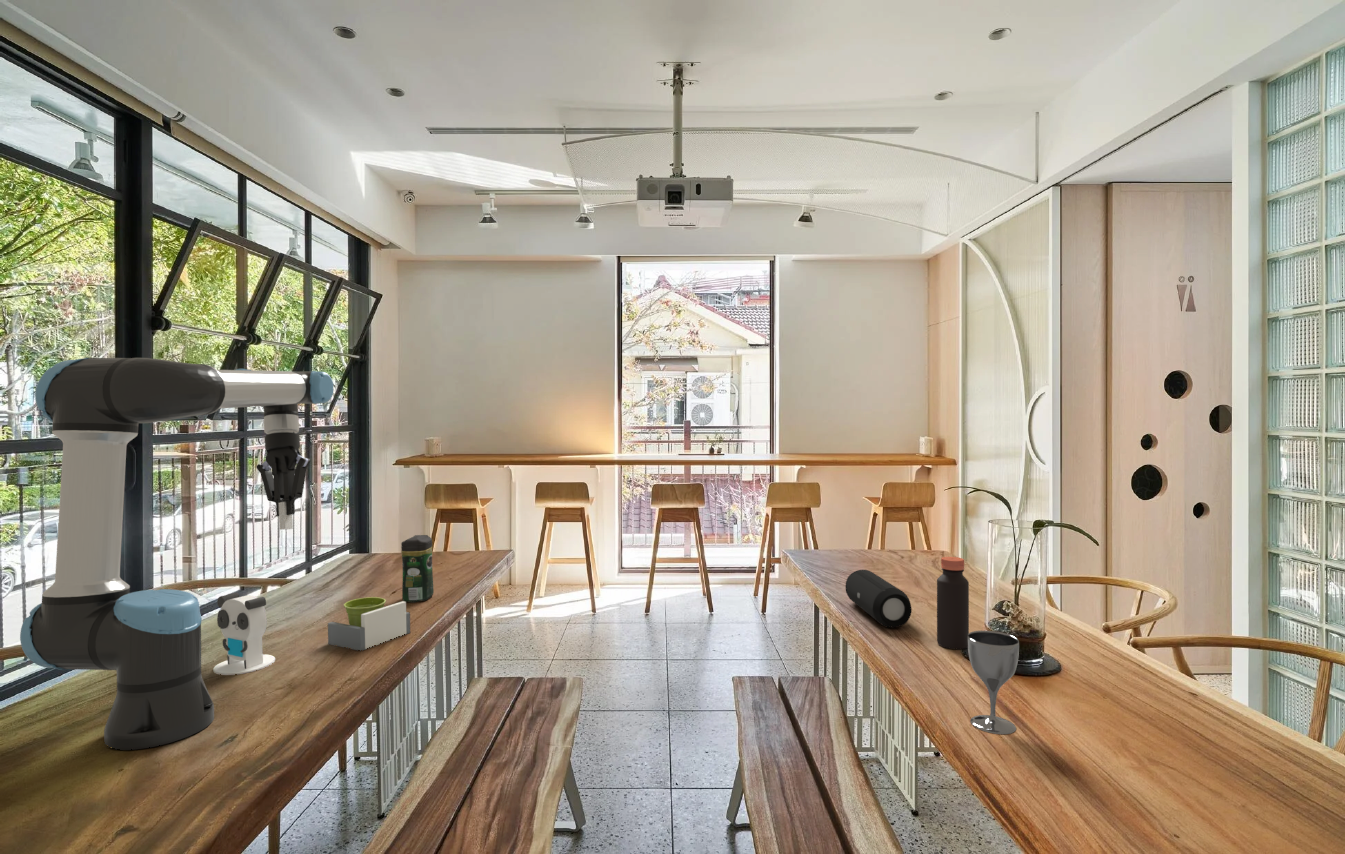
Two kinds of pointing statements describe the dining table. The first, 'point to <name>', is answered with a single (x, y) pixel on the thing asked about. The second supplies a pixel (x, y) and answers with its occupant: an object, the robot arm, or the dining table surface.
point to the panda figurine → (242, 634)
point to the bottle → (952, 605)
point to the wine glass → (993, 672)
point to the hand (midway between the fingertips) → (286, 528)
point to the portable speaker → (878, 598)
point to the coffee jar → (417, 568)
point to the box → (371, 628)
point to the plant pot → (362, 608)
